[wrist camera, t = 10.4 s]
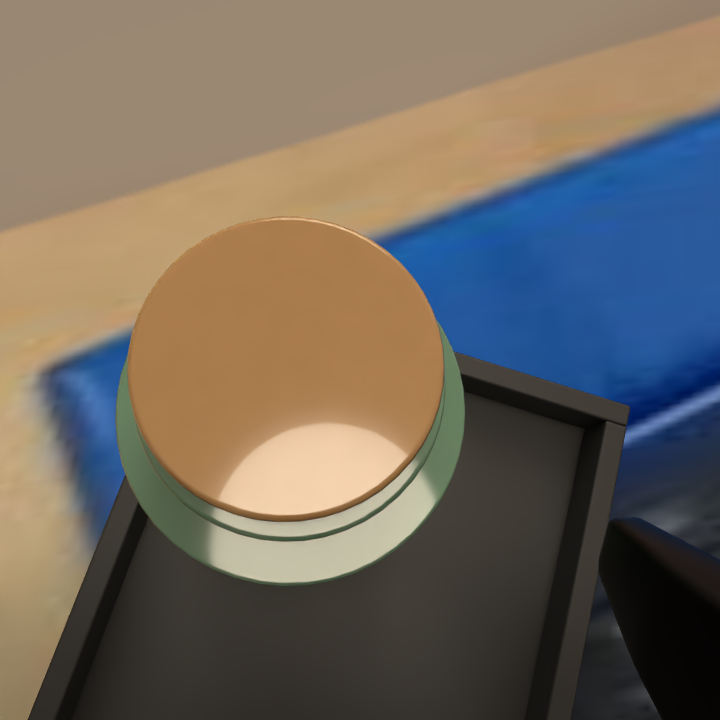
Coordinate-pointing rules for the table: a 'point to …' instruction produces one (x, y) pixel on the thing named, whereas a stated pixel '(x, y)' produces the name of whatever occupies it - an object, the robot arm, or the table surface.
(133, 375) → the jar
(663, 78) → the table surface
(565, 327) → the table surface
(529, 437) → the baking tray
